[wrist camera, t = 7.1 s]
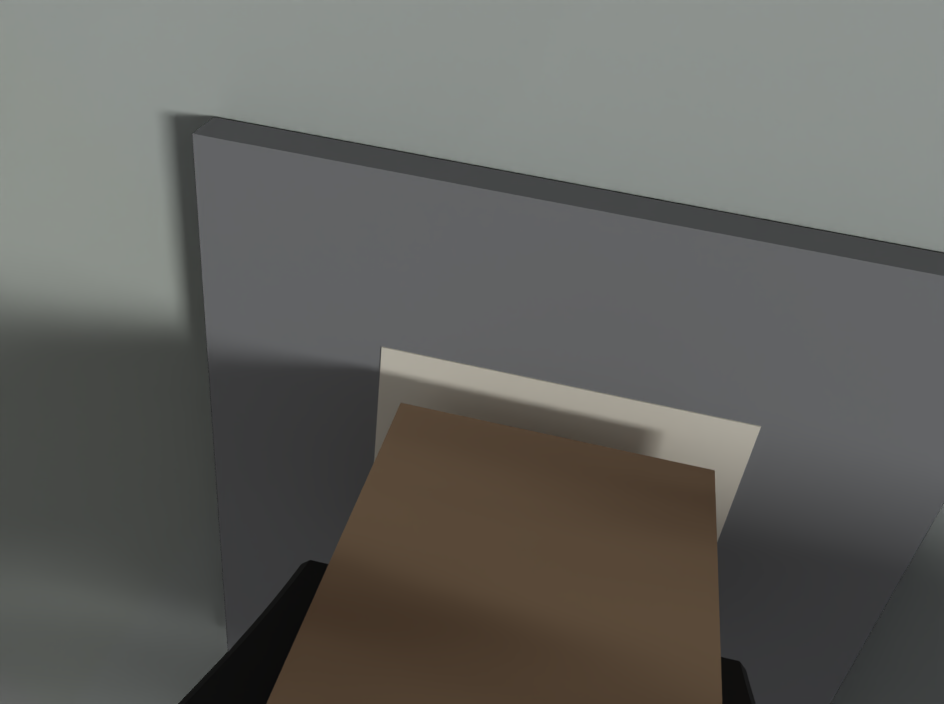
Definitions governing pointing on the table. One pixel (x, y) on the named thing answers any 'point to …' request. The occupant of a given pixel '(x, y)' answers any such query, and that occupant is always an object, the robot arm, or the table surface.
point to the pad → (571, 369)
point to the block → (514, 576)
